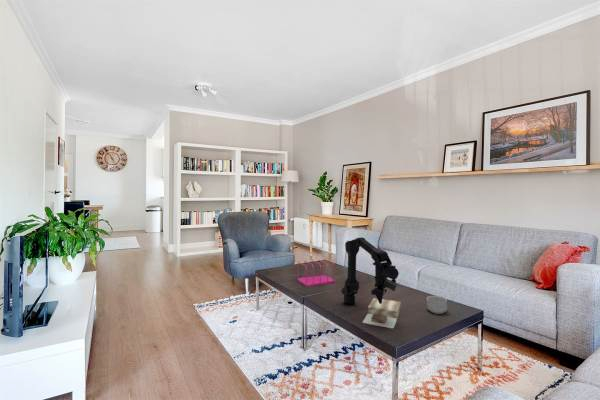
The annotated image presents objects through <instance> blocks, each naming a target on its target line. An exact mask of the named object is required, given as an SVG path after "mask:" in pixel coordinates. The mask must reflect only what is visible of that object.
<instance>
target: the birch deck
mask: <svg viewBox="0 0 600 400" xmlns="http://www.w3.org/2000/svg"><path fill="white" fill-rule="evenodd" d="M401 310H402V302H401V301H397V300H391V299H384V298H383V300H382V303H381V304H380V303H379V301H378V299H377V297H376V298H375V297H373V298H372V300H371V301H370V303H369V305H368V306H367V314H374V313H375V314H381V315H387V317H392V318H397V319H398V318H399V315H400V312H401Z"/></svg>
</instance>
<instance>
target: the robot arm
mask: <svg viewBox="0 0 600 400" xmlns="http://www.w3.org/2000/svg"><path fill="white" fill-rule="evenodd" d="M344 248H345V251H346V254H347V278H346V279H345V281H344V286H343V288H342V289H341V294H342V295H343V302H342V304H343V305H345V306H351V307H353V306H355V304H356V303H357V297H356V295H357V294H358V291H359V289H360V281H358V280H357V278H356V277H357V255H358V254H359V252H360V248H362V249H363V250H364V251H366V252H367V254H370V257H371V259H372V260H373V261H374V262H373V263H372V265H373V266H374V267H375V268H374V274H375V275H374V283H375V284H374V285H373V286H374V287H373V288H372V289H371V290H370V291H371V292H370V293H371V295H373V296H375V297H376V298H377V299H378V301H379V303H380V304H381V303H382V300H383V299H384V295H385V294H386V293H387V291H388V289H389V290H391V291H393V292H395V291H396V289H397V286H398V282H397V278H398V277H399V274H400V273H399V271H398V269H397V268H396V265H393V262H392V259H391V258H390V256H389V253H388V252H387V251H386V250H384V249H381V248H378V247H375V246H374V245H373V244H372V243H371V242H369V241H368V240H366V238H364V237H361V236H360V237H356V238H355V239H352V240H347V241H346V242H345V244H344ZM387 288H388V289H387Z"/></svg>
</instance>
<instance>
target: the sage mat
mask: <svg viewBox="0 0 600 400" xmlns="http://www.w3.org/2000/svg"><path fill="white" fill-rule="evenodd" d="M372 316H373V314H368V313H367V314H366V316H365V318H364V319H363V321H362V324H367V325H372V326H377V327H384V328H388V329H394V328H395V326H396V323H397V320H398V318H392V317H387V320H386V322H385V324H382V323H377V322H372V321H371V317H372Z"/></svg>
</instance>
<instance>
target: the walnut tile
mask: <svg viewBox="0 0 600 400" xmlns="http://www.w3.org/2000/svg"><path fill="white" fill-rule="evenodd" d="M386 320H387V315H381V314H375V313H374V314H373V316H372V317H371V321H372V322H377V323H382V324H385V322H386Z"/></svg>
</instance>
